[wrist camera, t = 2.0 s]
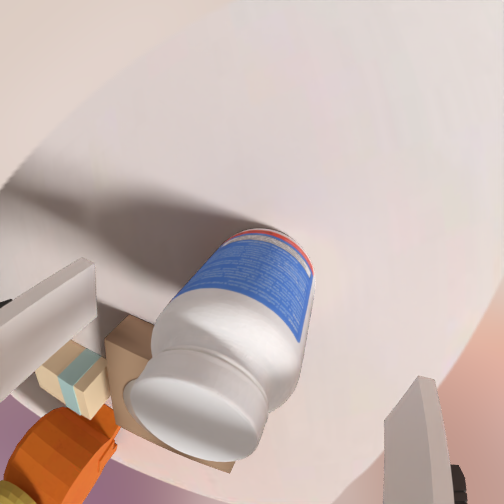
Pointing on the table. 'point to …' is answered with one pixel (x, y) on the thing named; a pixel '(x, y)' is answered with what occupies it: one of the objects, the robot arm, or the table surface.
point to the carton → (76, 378)
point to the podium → (127, 372)
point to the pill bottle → (228, 347)
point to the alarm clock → (59, 458)
